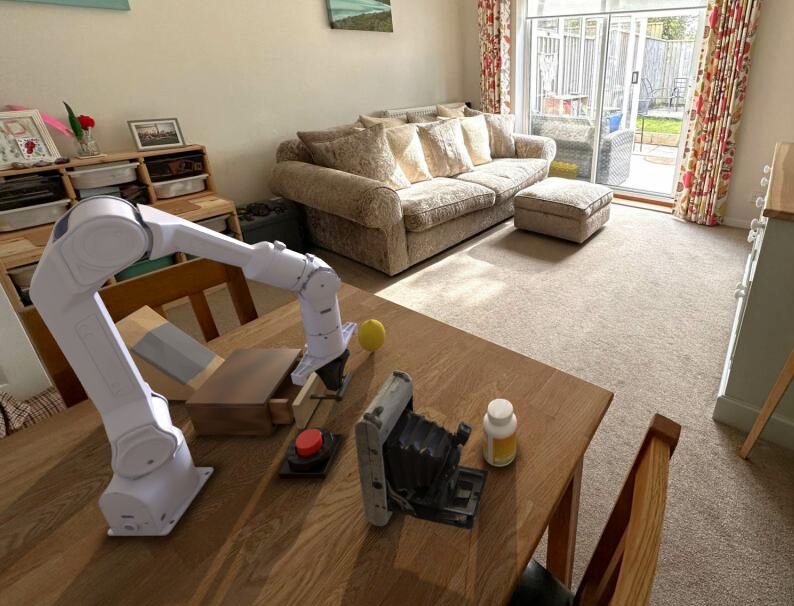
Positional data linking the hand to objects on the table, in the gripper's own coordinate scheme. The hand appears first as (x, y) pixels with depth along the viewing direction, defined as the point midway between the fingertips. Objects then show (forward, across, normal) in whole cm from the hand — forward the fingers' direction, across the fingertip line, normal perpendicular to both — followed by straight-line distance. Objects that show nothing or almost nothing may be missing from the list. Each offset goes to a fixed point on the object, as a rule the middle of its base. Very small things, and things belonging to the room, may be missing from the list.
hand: (334, 387), depth 73 cm
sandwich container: (+4, +4, -31) cm, 31 cm away
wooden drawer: (+3, +2, -6) cm, 7 cm away
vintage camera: (+4, +12, +24) cm, 27 cm away
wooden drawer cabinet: (+4, +4, -14) cm, 15 cm away
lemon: (+4, -15, -2) cm, 16 cm away
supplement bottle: (+4, +1, +32) cm, 32 cm away
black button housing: (+4, +10, +3) cm, 12 cm away
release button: (+1, +10, +3) cm, 11 cm away
